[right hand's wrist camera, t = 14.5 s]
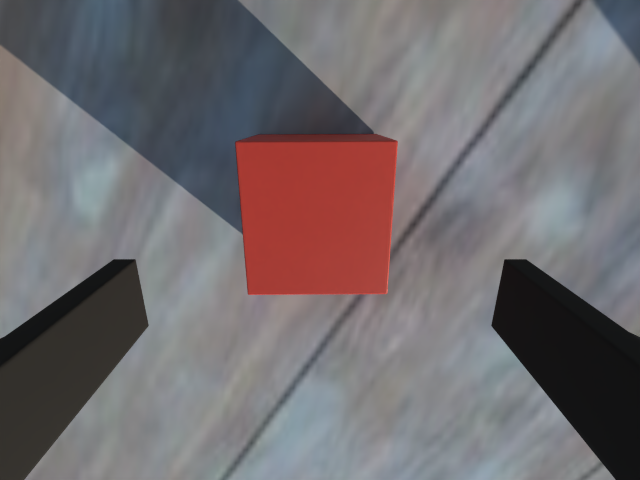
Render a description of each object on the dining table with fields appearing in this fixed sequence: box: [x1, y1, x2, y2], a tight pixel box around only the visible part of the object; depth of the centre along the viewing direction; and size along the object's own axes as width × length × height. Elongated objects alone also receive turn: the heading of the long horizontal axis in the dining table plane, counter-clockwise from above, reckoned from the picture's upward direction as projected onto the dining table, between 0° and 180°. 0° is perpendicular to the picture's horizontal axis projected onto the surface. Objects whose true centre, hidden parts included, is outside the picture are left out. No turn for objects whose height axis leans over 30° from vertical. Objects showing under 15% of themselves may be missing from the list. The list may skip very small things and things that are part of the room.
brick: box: [235, 134, 398, 295], centre depth 23 cm, size 9×9×7 cm
